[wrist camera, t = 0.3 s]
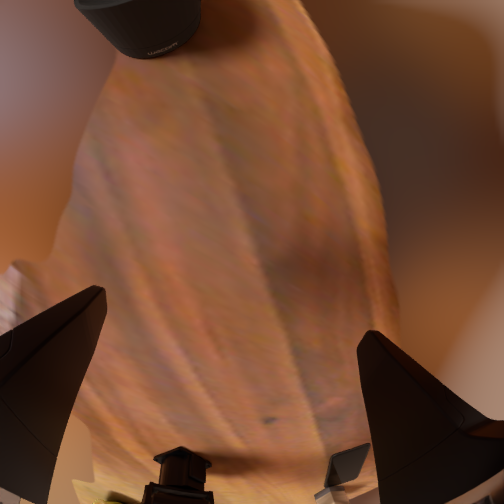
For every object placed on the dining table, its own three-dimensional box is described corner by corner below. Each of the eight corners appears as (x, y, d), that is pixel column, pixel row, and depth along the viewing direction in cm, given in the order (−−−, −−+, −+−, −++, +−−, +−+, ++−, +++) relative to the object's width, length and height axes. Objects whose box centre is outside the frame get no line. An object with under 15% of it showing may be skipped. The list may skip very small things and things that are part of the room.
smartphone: (330, 453, 34) (322, 486, 37) (331, 456, 33) (323, 489, 36) (370, 439, 34) (356, 475, 38) (372, 443, 33) (357, 478, 37)
